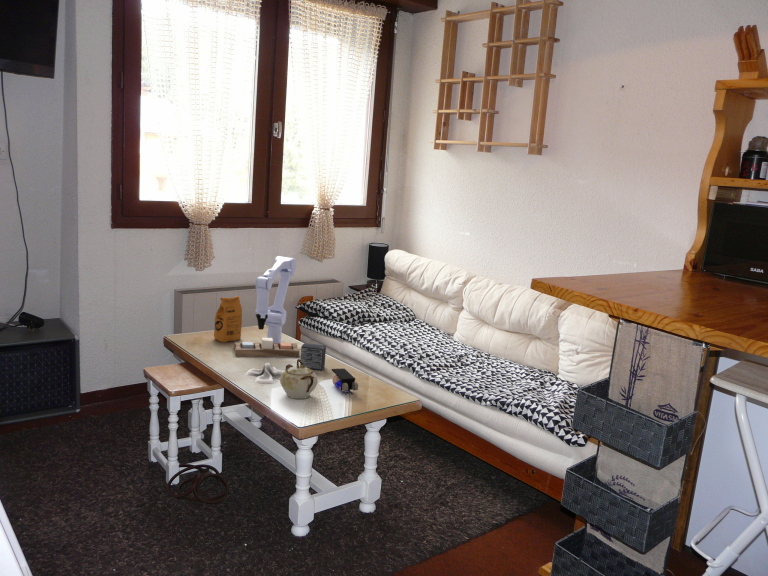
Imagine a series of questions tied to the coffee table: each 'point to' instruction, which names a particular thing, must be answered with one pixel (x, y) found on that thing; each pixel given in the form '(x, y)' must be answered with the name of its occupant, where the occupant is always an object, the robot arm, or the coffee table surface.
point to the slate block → (247, 345)
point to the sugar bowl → (298, 381)
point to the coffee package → (228, 320)
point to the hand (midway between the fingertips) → (260, 329)
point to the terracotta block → (285, 346)
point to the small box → (313, 356)
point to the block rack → (266, 350)
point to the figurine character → (344, 380)
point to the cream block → (267, 343)
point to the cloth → (265, 374)
